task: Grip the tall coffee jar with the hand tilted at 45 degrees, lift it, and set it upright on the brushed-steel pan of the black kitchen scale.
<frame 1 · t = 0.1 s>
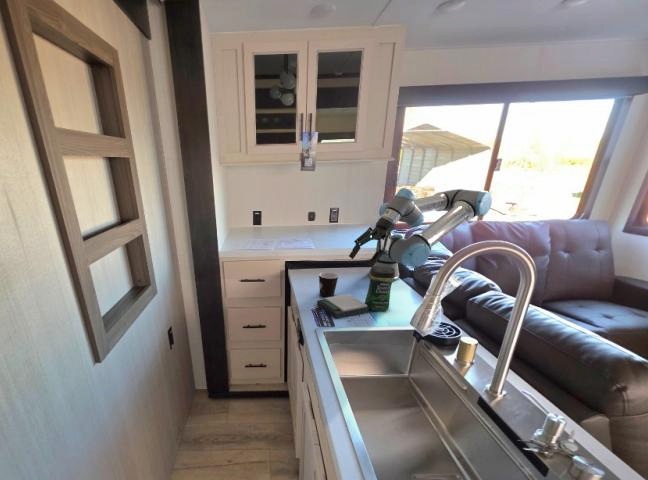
hand: (359, 261, 144), 15 cm above the counter, tool tilted 35°, fingers open, 13 cm apart
coffee mug: (326, 294, 148), on the counter
kitchen scale: (341, 308, 133), on the counter
coffee jar: (376, 308, 134), on the counter
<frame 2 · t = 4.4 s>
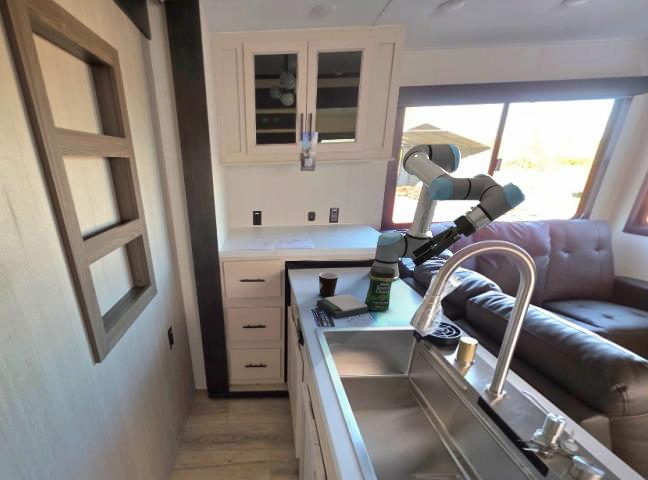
hand: (414, 259, 121), 23 cm above the counter, tool tilted 45°, fingers open, 13 cm apart
nothing on the counter moved.
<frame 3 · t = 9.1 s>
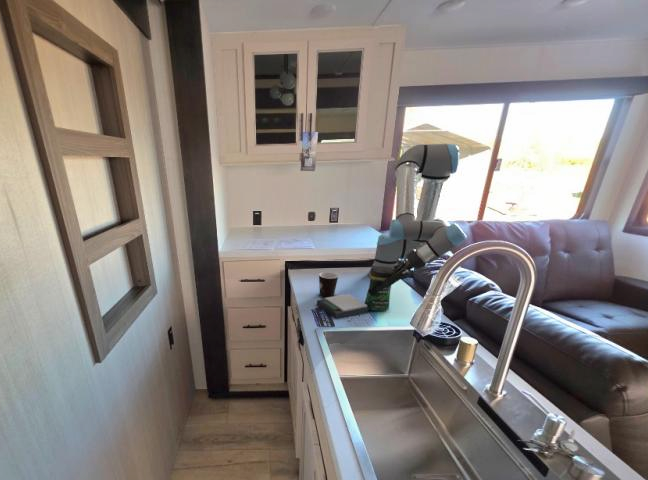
hand: (370, 289, 132), 8 cm above the counter, tool tilted 45°, fingers closed on coffee jar, 8 cm apart
coffee jar: (376, 308, 134), on the counter, touching gripper
everything else where it was.
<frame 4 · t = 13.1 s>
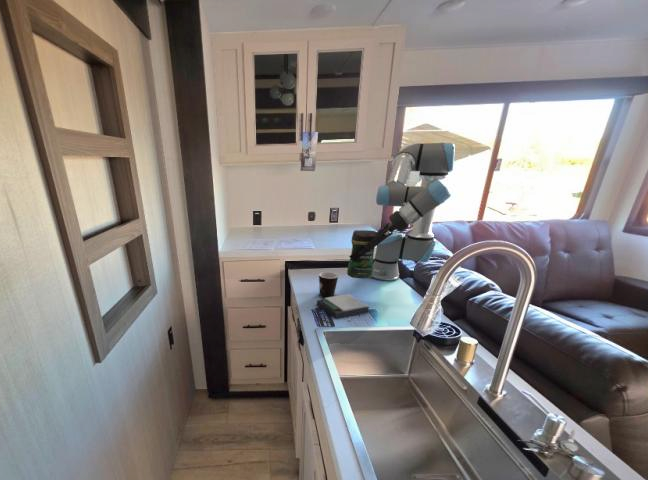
hand: (353, 256, 126), 23 cm above the counter, tool tilted 45°, fingers closed on coffee jar, 8 cm apart
coffee jar: (359, 276, 128), point 14 cm above the counter, touching gripper
everything else where it was.
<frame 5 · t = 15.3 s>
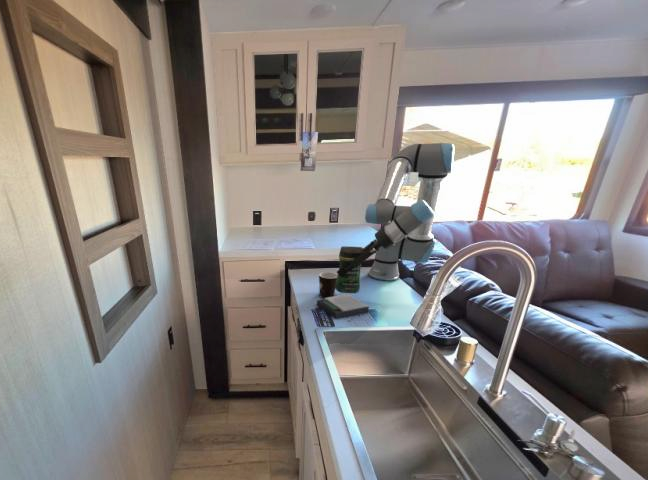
hand: (341, 271, 128), 16 cm above the counter, tool tilted 45°, fingers closed on coffee jar, 8 cm apart
coffee jar: (346, 291, 131), point 8 cm above the counter, touching gripper
everything else where it was.
when the fingers open (11 cm above the counter, at t = 17.2 s): coffee jar stays where it is, resting on kitchen scale.
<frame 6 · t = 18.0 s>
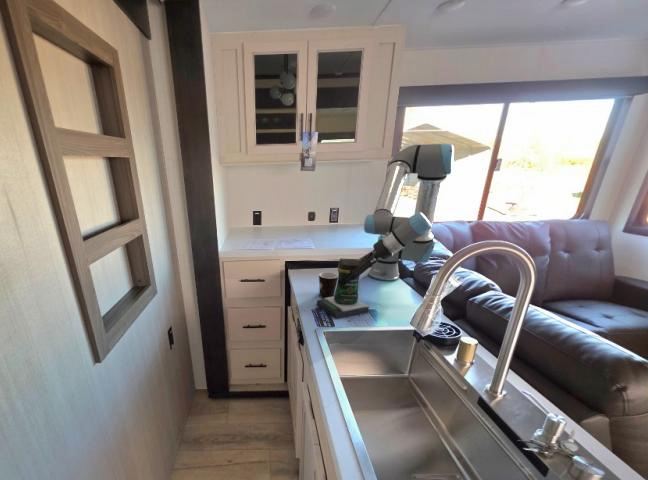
hand: (342, 278, 129), 13 cm above the counter, tool tilted 45°, fingers open, 13 cm apart
coffee jar: (345, 301, 133), point 3 cm above the counter, touching kitchen scale
everything else where it was.
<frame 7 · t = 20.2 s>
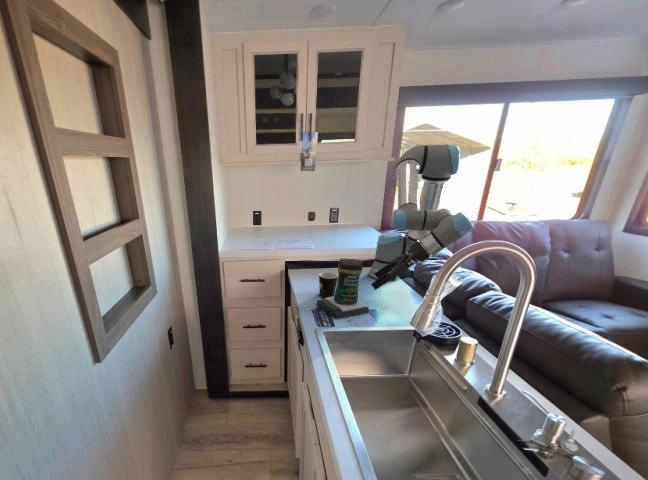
hand: (374, 281, 124), 14 cm above the counter, tool tilted 45°, fingers open, 13 cm apart
nothing on the counter moved.
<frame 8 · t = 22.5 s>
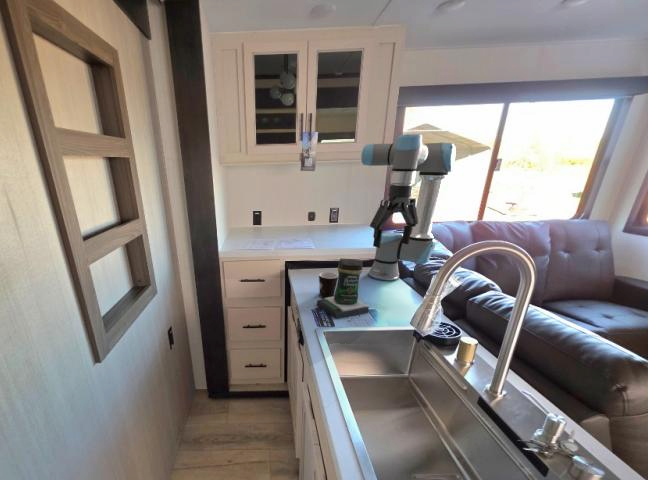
hand: (390, 245, 117), 29 cm above the counter, tool pointing down, fingers open, 13 cm apart
nothing on the counter moved.
at the end: coffee jar inside the target area on the kitchen scale (0.1 cm from its centre), point 3.0 cm above the kitchen scale's base; coffee jar tilted 0°; the gripper is holding nothing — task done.
